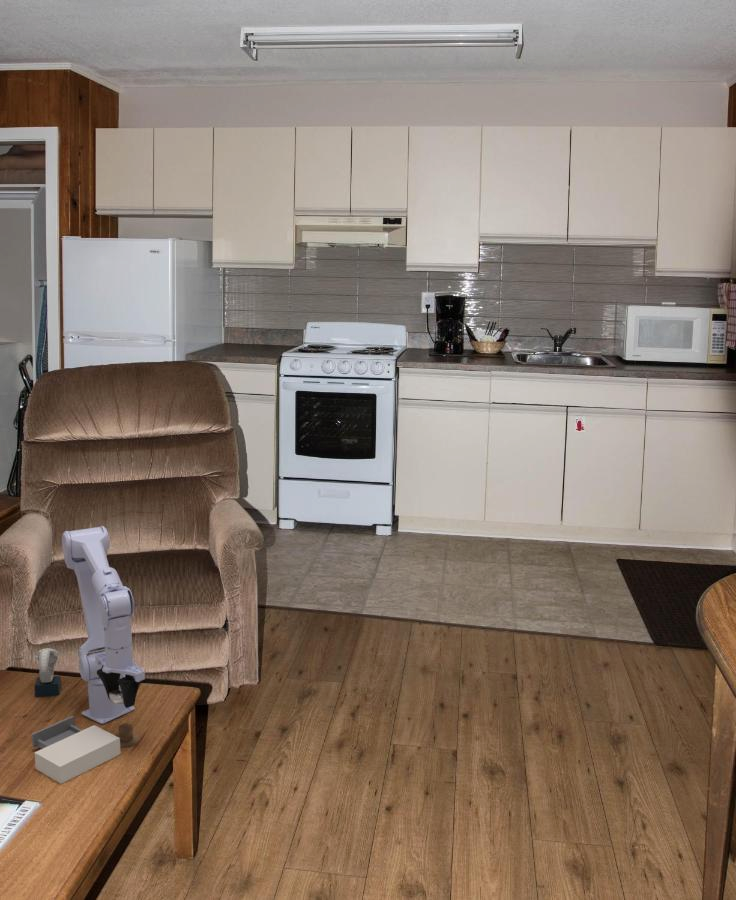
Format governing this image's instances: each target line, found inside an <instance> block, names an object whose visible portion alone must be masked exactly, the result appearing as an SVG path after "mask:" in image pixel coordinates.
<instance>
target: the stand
mask: <svg viewBox="0 0 736 900" xmlns="http://www.w3.org/2000/svg"><path fill="white" fill-rule="evenodd" d="M117 729H118V734H117V735H116V736H117V737H119V738H120V749H121V748H123V749H125V748H131V747H134V746H135V745H137V744H138V743H139V742H140V736H139V735H138V734H137V733H135V732H133V731H134V729H133V724H132V723H128V722H126V723H122V724H119V725H118V728H117Z"/></svg>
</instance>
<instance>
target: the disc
mask: <svg viewBox="0 0 736 900" xmlns="http://www.w3.org/2000/svg"><path fill="white" fill-rule="evenodd" d="M109 697H110V702H112V703H114V704H123V703H124V701H123V694H122V690H121V688H116V689H114V690H112V691H111V692H110V693H109Z"/></svg>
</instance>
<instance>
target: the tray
mask: <svg viewBox="0 0 736 900" xmlns="http://www.w3.org/2000/svg"><path fill="white" fill-rule="evenodd" d="M75 721H76V720H75V716H74V715H70V716H69V717H66V718H65V719H62V720H60V721H57V722H55V723H52V724H50V725H48V726H46V727H44V728H42V729H40V730H37V731H35V732H32V733H31V734H30V735H31V747H32V748H33V749H35V748H39V749H40V750H41V749H43V748H45V747H48V746H50V745H52V744H54V743H56V742H58V741H61V740H63V739H65V738H67V737H69V736H71V735H74V734H76V733H78V732H80V731H82V730H83V729H81V728H79V727H78V726H76V722H75Z"/></svg>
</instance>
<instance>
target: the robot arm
mask: <svg viewBox="0 0 736 900" xmlns="http://www.w3.org/2000/svg"><path fill="white" fill-rule="evenodd" d="M109 535H110V534H109V533H108V529H107V528H106V527H105V526H104V525H100V526H97V527H89V528H84V529H83V528H82V529H75V530H70V531H69V530H65V531H63V533H62V535H61V549H62V553H63V559H64V563H65V565H66V568H68V569H70V570H73V572H74V574H75V577H76V579H77V584H78V590H79V595H80V601H81V606H82V612H83V617H84V623H85V630H86V635H87V639H86V641H84V643H83V644H81V646H80V648H79V649H78V653H77V655H78V669H79V673H80V677H81V679H82V680H83V681H84V682H87V693H88V694H87V695H88V709H86V710H84V711H82V712H81V715H82V716H84V717H86V718H89V719H90V720H92V721H94V722H96V723H99V724H100V725H104V724H107V723H109V722H110V721H113V720H115V719H117V718H119V717H121V716H124V715H125V714H128V713H129V712H131V711H134V710H135V709H136V708H135V702H136V699H137V694H138V690H139V687H140V686H141V684H142V682H143V681H144V680H146V672H145V670H144V669H142V668H141V667H140V666H139V665H138V664H137V663H136V662H135V660H134V654H133V638H132V637H133V636H132V635H133V634H132V632H133V631H132V618H131V617H132V616H133V615H134V612H135V601H134V596H133V594H132V591H131V589H130V588H129V587H127V586H124V585H123V582H122V581H121V579H120V575H119V574H118V572H117V570H116V569H115V568H114V567H111V566H110V564H109V561H108V558H107V556H108V552H109V548H110V536H109ZM116 688H121V690H122V694H123V701H124V703H123V704H114V703H112V702H110V697H109V693H110V692H111V691H112V690H114V689H116Z"/></svg>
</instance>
